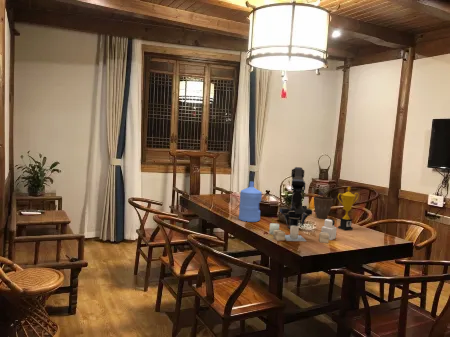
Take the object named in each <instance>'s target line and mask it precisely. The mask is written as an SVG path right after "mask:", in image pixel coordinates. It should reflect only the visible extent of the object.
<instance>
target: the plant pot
mask: <svg viewBox="0 0 450 337" xmlns="http://www.w3.org/2000/svg"><path fill="white" fill-rule="evenodd" d="M333 202H334V198H333V197H329V196H320V195H319V196H318V195H315V196H313V207H314V212H315V216H316V218H317V219H318V220H319V219H321V220H325V219H328V216H329V214H330V211H331V209H332V206H333Z"/></svg>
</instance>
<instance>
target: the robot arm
mask: <svg viewBox="0 0 450 337" xmlns="http://www.w3.org/2000/svg"><path fill="white" fill-rule="evenodd" d="M290 176H291V179H292V180H291V189H290V190H291V191H292V195H291V201H290V202H291V206H290V207H289V208H288V207H287V206H286V207H280V208H279V212H280V213H281V214H282V215H283V216H284V218H285V219H284V220H285V221H286V225H288V226H287V228H289V229H290V227H291V226H292V225H294V226H299V221H301V226H304V223H305V222H306V219H307V217H309V216H312V215H313V210H312V209H310V207H309V208H308V206H307V205H303V202H302V201H303V192H305V191H306V181H304V178H305V170H304V169H303V167H297V166H295V167H294V168H292V169H291V175H290Z"/></svg>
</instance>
